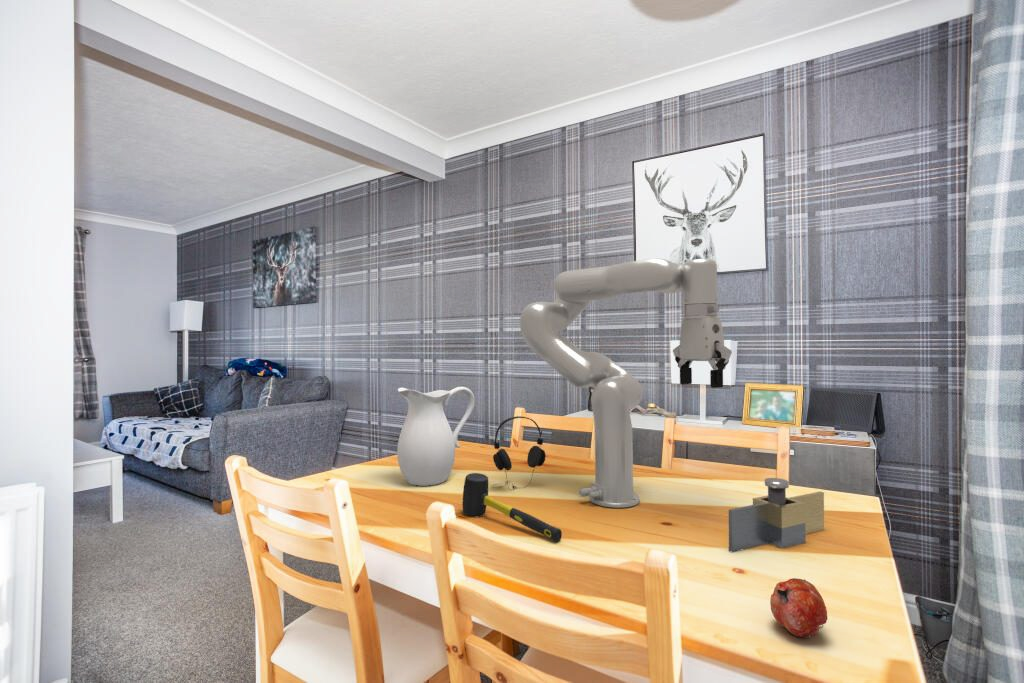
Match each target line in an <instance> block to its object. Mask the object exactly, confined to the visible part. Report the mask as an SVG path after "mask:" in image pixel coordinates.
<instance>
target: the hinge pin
mask: <svg viewBox="0 0 1024 683" xmlns="http://www.w3.org/2000/svg"><path fill="white" fill-rule="evenodd" d="M764 486H765V487H767V496H768V502H771V503H774V504H777V505H780V506H782V505H786V496H787V495H786V489H789V487H790V482H789V480H788V479H784V478H779V477H767V478H764Z"/></svg>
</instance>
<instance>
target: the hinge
mask: <svg viewBox="0 0 1024 683" xmlns="http://www.w3.org/2000/svg"><path fill="white" fill-rule="evenodd" d="M824 530H825V492H823V491H816V492H811V493H805V494H800V495H795V496H791V497H790V496H789V497H788V496H787V497H786V505H782V506H780V505H777V504H774V503H771V502H768V495H763V496H758V497H753V498H752V504H750V505H745V506H740V507H736V508H730V509H728V552H731V551H732V552H731V553H734V551H735V552H738V550H739V551H742V550H741V549H743V550H746V548H747V549H750V548H749V547H751V548H755V547H759V546H763V544H764V545H767V543H768V544H770V545H772V546H774V545H775V547H777V548H779V547H780V549H782V548H783V549H786V548H785V547H787V548H789V547H794V546H798V545H801V544H806V535H807V534H808V535H809V534H812V533H815V532H817V533H818V532H820V531H824Z"/></svg>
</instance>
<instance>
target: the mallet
mask: <svg viewBox="0 0 1024 683" xmlns="http://www.w3.org/2000/svg"><path fill="white" fill-rule="evenodd" d="M463 484H464V485H463V489H462V490H463V491H462V513H463V514H464V515H466V516H467V517H471V518H477V517H476V516H478V517H482V516H484V515H485V514H484V513H486V510H487V507H490V508H492V509H494V510H496V511H497V512H500V513H502V514H503V515H505V516H506V517H508V518H510V519H512V520H514V521H515V522H517V523H519V524H521V525H523V526H524V527H526V528H528V529H530V530H533V531H534V532H536V533H539V534H540V535H543V536H545V537H547V538H549V539H550V540H551V541H553V542H555V543H559V542H560V541H561V539H562V537H563V536H562V535H563V533H562V530H561V528H559V527H555V526H553V525H550V524H549V523H546V521H543V520H541V519H539V518H537V517H535V516H533V515H531V514H528V513H526V512H524V511H522V510H520V509H517V508H516V507H515V508H514V507H512V506H510V505H508V504H505V503H502V502H501V501H498V500H497V499H495V498H492V497H491V496H489V477H488V476H487V475H486V474H484V473H478V472H471V473H468V474H467V475H466V476H465V478H464V483H463ZM483 514H484V515H483ZM481 515H482V516H481ZM558 541H559V542H558Z"/></svg>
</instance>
